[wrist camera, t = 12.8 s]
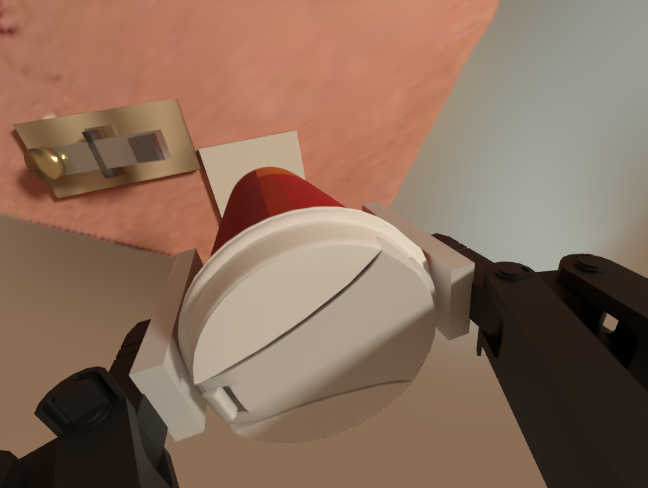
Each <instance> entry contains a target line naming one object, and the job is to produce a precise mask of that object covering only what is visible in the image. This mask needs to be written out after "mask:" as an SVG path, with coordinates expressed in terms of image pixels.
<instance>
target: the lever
mask: <svg viewBox="0 0 648 488" xmlns="http://www.w3.org/2000/svg"><path fill="white" fill-rule="evenodd" d="M81 133H82V135H83V137H84V138H85V140H86V142H80V143H74V144H68V145H62V146H56V147H50V148H47V147H37V148H32V149H28V150H27V151H26V152H25V155H24V160H25V163H26V165H27V167H28V169H29V170H30V171H31V172H32V173H33V174H34V175H35V176H37V177H38V178H40V179H42V180H46V181H52V180H55V179H58V178H61V177H63V176H64V175H68V174H75V173H82V172H88V171H95V170H101V172H102V174H103V176H104V178H112V177H116V176H118V175H120V174H119V172H118V170H117V168H116V167H122V166H129V165H135V164H142V163H149V162H156V161H162V160H167V159H169V158H172V157H171V155H170V152H169V149H168V147H167V144H166V142H165V139H164V136H163V134H162V131H161V129H159V130H153V131H147V132H141V133H135V134H129V135H123V136H117V137H110V138H104V139H102V137H101V135H100V133H99V131H98V129H96V130H90V131H84V132H81Z"/></svg>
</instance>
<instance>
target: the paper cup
mask: <svg viewBox="0 0 648 488" xmlns="http://www.w3.org/2000/svg"><path fill="white" fill-rule="evenodd" d="M436 311H437V299H436V292H435V287H434V284H433V281H432V279H431V274H430V270H429V266H428V262H427V260H426V258H425V256H424V254H423V252H422V249H421V248H420V247H418V246H417V245H416V244H415V243H413V242H412V241H411V240H410V239H408V238H407V237H406V236H405V235H404V234H403V233H401V232H400V231H399V230H398V229H397V228H396V227H395V226H393V225H391V224H390V223H388V222H386V221H384V220H383V219H381V218H379V217H377V216H375V215H372V214H369V213H366V212H363V211H360V210H356V209H350V208H346V207H345V206H343V205H342V204H340V203H339V202H337V201H336V200H334V199H333V198H331V197H330V196H328V195H327V194H325V193H324V192H322V191H321V190H319V189H318V188H316V187H315V186H313V185H312V184H310V183H309V182H307V181H306V180H304V179H302V178H301V177H299V176H298V175H296V174H294V173H292V172H290V171H288V170H285V169H282V168H278V167H262V168H258V169H255V170H253V171H251V172H249V173H247V174H246V175H244V176H243V177H242V178H241V179H240V180H239V181H238V182H237V184H236V185H235V187H234V188H233V190H232V192H231V194H230V197H229V200H228V202H227V205H226V208H225V211H224V214H223V218H222V221H221V224H220V227H219V230H218V233H217V237H216V240H215V243H214V246H213V250H212V253H211V256H210V258H209V259H208V260H207V261H206V263H205V264H204V265H203V267H202V268H201V269H200V271H199V272H198V273H197V275H196V276H195V277H194V279H193V281H192V283H191V285H190V287H189V289H188V291H187V293H186V295H185V298H184V301H183V305H182V308H181V312H180V315H179V324H178V342H179V348H180V353H181V355H182V357H183V360H184V362H185V365H186V367H187V370H188V372H189V374H190V376H191V380H192V383H194V384H195V385H197V386H198V388H199V389H200V391H201V392H202V397H203V398H204V399H205V401H206V402H207V403H208V404H209V405H210V406H211V408H212V409H213V410H214V411H215V412H216V414H217V415H218V416H219V417H220V418H221V420H223V421H230V425H231V429H232V430H233V431H235V433H236V434H238V435H241V436H243V437H246V438H249V439H255V440H258V441H262V442H272V443H296V442H304V441H312V440H316V439H320V438H325V437H328V436H331V435H334V434H337V433H340V432H343V431H345V430H348V429H350V428H352V427H354V426H357V425H359V424H361V423H362V422H364V421H366V420H368V419H369V418H371V417H373V416H374V415H376V414H377V413H379V412H380V411H382V410H383V409H385V408H386V407H387V406H388V405H390V404H391V403H392V402H393V401H394V400H395V399H397V398H398V397H399V396H400V395H401V394H402V393H403V392H404V391H405V390H406V389H407V388H408V386H410V384H411V383H412V381H413V380H414V379H415V377H416V375H417V373H418V372H419V370H420V368H421V367H422V365H423V363H424V361H425V359H426V357H427V355H428V353H429V351H430V349H431V346H432V343H433V340H434V336H435V327H436V317H435V316H436Z"/></svg>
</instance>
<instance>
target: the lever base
mask: <svg viewBox="0 0 648 488" xmlns="http://www.w3.org/2000/svg"><path fill="white" fill-rule="evenodd" d="M13 126H14V127H15V129H16V131H17V132H18V134H19V135H20V137H21V139H22V140H23V142H24V144H25V145H26V147H27V149H32V148H37V147H47V148H50V147H56V146H62V145H68V144H74V143H80V142H86V140H85V138H84V137H83V135H82V133H81V132H84V131H90V130H96V129H98V131H99V133H100V135H101V137H102V139H104V138H110V137H117V136H123V135H129V134H135V133H141V132H147V131H153V130H159V129H161V131H162V134H163V136H164V139H165V142H166V144H167V147H168V149H169V152H170V155H171V157H172V158H169V159H167V160H162V161H156V162H149V163H142V164H135V165H129V166H122V167H116V168H117V170H118V172H119V174H120V175H118V176H116V177H112V178H104V176H103V174H102V172H101V170H95V171H88V172H82V173H75V174H68V175H64V176H63V177H61V178H58V179H55V180H52V181H47V182H48V183H49V185H50V186H51V188H52V190H53V191H54V193H55V195H56V196H57V198H61V197H66V196H71V195H76V194H81V193H86V192H91V191H96V190H101V189H105V188H110V187H115V186H120V185H125V184H130V183H135V182H140V181H145V180H149V179H154V178H159V177H164V176H169V175H174V174H179V173H184V172H189V171H194V170H198V169H200V168H201V166H200V163H199V161H198V158H197V155H196V152H195V149H194V146H193V143H192V140H191V137H190V135H189V132H188V129H187V126H186V123H185V120H184V117H183V114H182V112H181V109H180V106H179V103H178V100H177V99H171V100H165V101H159V102H152V103H146V104H140V105H133V106H127V107H121V108H114V109H108V110H102V111H95V112H89V113H83V114H76V115H70V116H64V117H57V118H51V119H45V120H38V121H32V122H26V123H19V124H13Z"/></svg>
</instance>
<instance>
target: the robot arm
mask: <svg viewBox="0 0 648 488" xmlns="http://www.w3.org/2000/svg"><path fill="white" fill-rule="evenodd" d="M362 209H363V212H366V213H369V214H372V215H375V216H377V217H379V218H381V219H383V220H384V221H386V222H388V223H390V224H391V225H393V226H395V227H396V228H397V229H398V230H399V231H400V232H401V233H403V234H404V235H405V236H406V237H407V238H408V239H410V240H411V241H412V242H413V243H415V244H416V245H417V246H418V247H420V248H421V249H422V252H423V254H424V256H425V258H426V260H427V262H428V266H429V270H430V274H431V279H432V281H433V284H434V287H435V292H436V299H437V311H436V316H435V317H436V327H437V329H438V330H439V331H440V332H441V333H442V334H443V335H444V336H445V337H446V338H447V339H448V340H451V339H454V338H457V337H459V336H462V335H465V334H467V333H469V325H470V319H471V320H472V321H473V322H474V323H475V324H476V325H478V326H479V331H478V341H477V356H481V351H482V347H483V348H484V350H485V353H486V356H487V357H488V359H489V361H490V364H491V366H492V368H493V370H494V372H495V374H496V377H497V379H498V381H499V383H500V385H501V387H502V390H503V392H504V394H505V396H506V398H507V401H508V402H509V405H510V407H511V409H512V412H513V414H514V416H515V418H516V420H517V422H518V424H519V427H520V429H521V431H522V433H523V435H524V438H525V440H526V442H527V444H528V446H529V449H530V451H531V453H532V455H533V457H534V459H535V462H536V464H537V466H538V468H539V470H540V472H541V475H542V477H543V479H544V481H545V483H546V485H547V487H548V488H648V278H645V277H643V276H641V275H639V274H637V273H635V272H633V271H631V270H629V269H627V268H625V267H623V266H621V265H619V264H617V263H615V262H613V261H610V260H608V259H605V258H603V257H599V256H594V255H591V254H571V255H567V256H565V257H563V258H562V259H561V260H560V263H559V268H558V270H554V271H543V272H535V271H533V270H532V269H531V268H529V267H527V266H524V265H522V264H519V263H514V262H496V263H494V262H492V261H490V260H488V259H487V258H485V257H483V256H482V255H480V254H478V253H476V252H475V251H473V250H471V249H470V248H467V247H466V246H464V245H463V244H459V242H458V241H456V240H454V239H452V238H451V237H449V236H445V235H441V234H438V233H436V234H433V235H430V234H428V233H427V232H425V231H423V230H422V229H420V228H419V227H417V226H415V225H414V224H412V223H411V222H409V221H407V220H406V219H404V218H403V217H401V216H400V215H398V214H396V213H395V212H393V211H392V210H390V209H389V208H387V207H385V206H384V205H382V204H381V203H379V202H378V201H374V202H370V203H366V204H362ZM202 267H203V264H202V261H201V259H200V257H199V254H198V252H197V249H196V248H195V249H191V250H188V251H184V252H180V253H178V254H177V257H176V259H175V262H174V264H173V267H172V269H171V272H170V274H169V277H168V279H167V282H166V284H165V287H164V289H163V292H162V294H161V296H160V299H159V302H158V304H157V306H156V309H155V312H154V314H153V316H152V319H149V320H146V321H142V322H139V323H137V325H136V326H135V327H134V328H133V329H132V330H131V331H130V332H129V333H128V334H127V335H126V337H125V340H124V342H123V344H122V346H121V349H120V350H119V352H118V354H117V356H116V360H114V362H113V364H112V366H111V369H110V370H109V372H108V371H107V370H106V369H105V368H103V367H98V366H97V367H92V368H86V369H84V370H82V371H80V372H77V373H75V374H73V375H71V376H70V377H68V378H66V379H65V380H63V381H61V382H60V383H59V384H58V385H56V386H55V387H54V388H53V389H52V390H50V391H49V392H48V393H47V394H46V396H45V397H44V398H43V399H42V400H41V401H40V403H39V404H38V406H37V408H36V411H35V413H34V414H35V415H36V416H37V417H38V418H39V419H40V420H41V421H42V422H43V423H44V424H45V425H46V426H47V427H48V428H49V429H51V431H52V432H54V434H55V435H57V436H58V437H57V438H55V439H54V440H52V441H50V442H48V443H47V444H45V445H43V446H41V447H40V448H38V449H36V450H35V451H33V452H31V453H29V454H27V455H26V456H24V457H22V458H20V459H18V458H17V457H16V456H15V455H13V454H12V453H11V452H10V451H3V450H0V488H179V485H178V482H177V478H176V474H175V471H174V467H173V464H172V460H171V456H170V455H169V453H168V452H167V450H166V449H165V447H164V444H165V439H166V435H167V430H168V431H169V433H170V434H171V436H172V437H173V438H174V440H175V441H179V440H181V439H185V438H187V437H190V436H193V435H195V434H198V433H201V432H203V431H204V427H205V417H206V406H207V402H206V401H205V399H204V398H203V397H202V392H201V391H200V389H199V388H198V386H197V385H195V384H194V383H192V380H191V376H190V374H189V372H188V370H187V367H186V365H185V362H184V360H183V357H182V355H181V353H180V348H179V342H178V324H179V315H180V312H181V308H182V305H183V301H184V298H185V295H186V293H187V291H188V289H189V287H190V285H191V283H192V281H193V279H194V277H195V276H196V275H197V273H198V272H199V271H200V269H201V268H202ZM607 313H608V314H609V315H611V316H613V317H614V318H616V319H617V320H619V321H618V324H617V326H616V329H615V330H614V331H611V330H609V329H607V328H606V327H604V326H603V323H604V320H605V318H606V315H607Z"/></svg>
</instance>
